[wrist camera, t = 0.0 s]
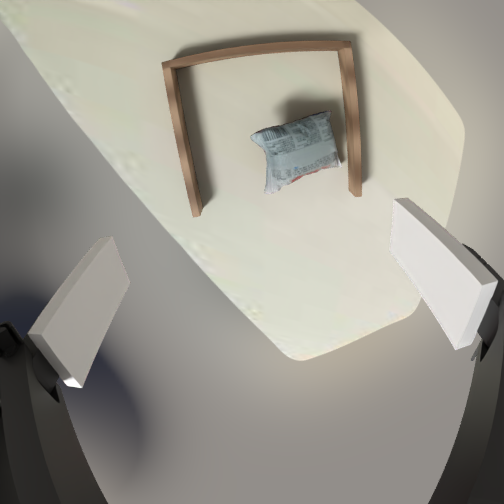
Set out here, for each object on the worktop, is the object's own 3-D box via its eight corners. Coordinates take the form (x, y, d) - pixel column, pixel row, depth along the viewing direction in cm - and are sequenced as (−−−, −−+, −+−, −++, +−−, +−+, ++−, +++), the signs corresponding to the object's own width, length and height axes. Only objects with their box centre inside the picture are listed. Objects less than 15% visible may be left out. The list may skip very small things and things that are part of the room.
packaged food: (330, 162, 41) (351, 172, 37) (259, 190, 39) (275, 202, 35) (320, 107, 36) (343, 110, 32) (243, 129, 34) (259, 134, 30)
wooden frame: (167, 64, 32) (161, 62, 29) (343, 44, 31) (350, 41, 28) (196, 209, 43) (193, 217, 40) (354, 189, 42) (361, 196, 39)
